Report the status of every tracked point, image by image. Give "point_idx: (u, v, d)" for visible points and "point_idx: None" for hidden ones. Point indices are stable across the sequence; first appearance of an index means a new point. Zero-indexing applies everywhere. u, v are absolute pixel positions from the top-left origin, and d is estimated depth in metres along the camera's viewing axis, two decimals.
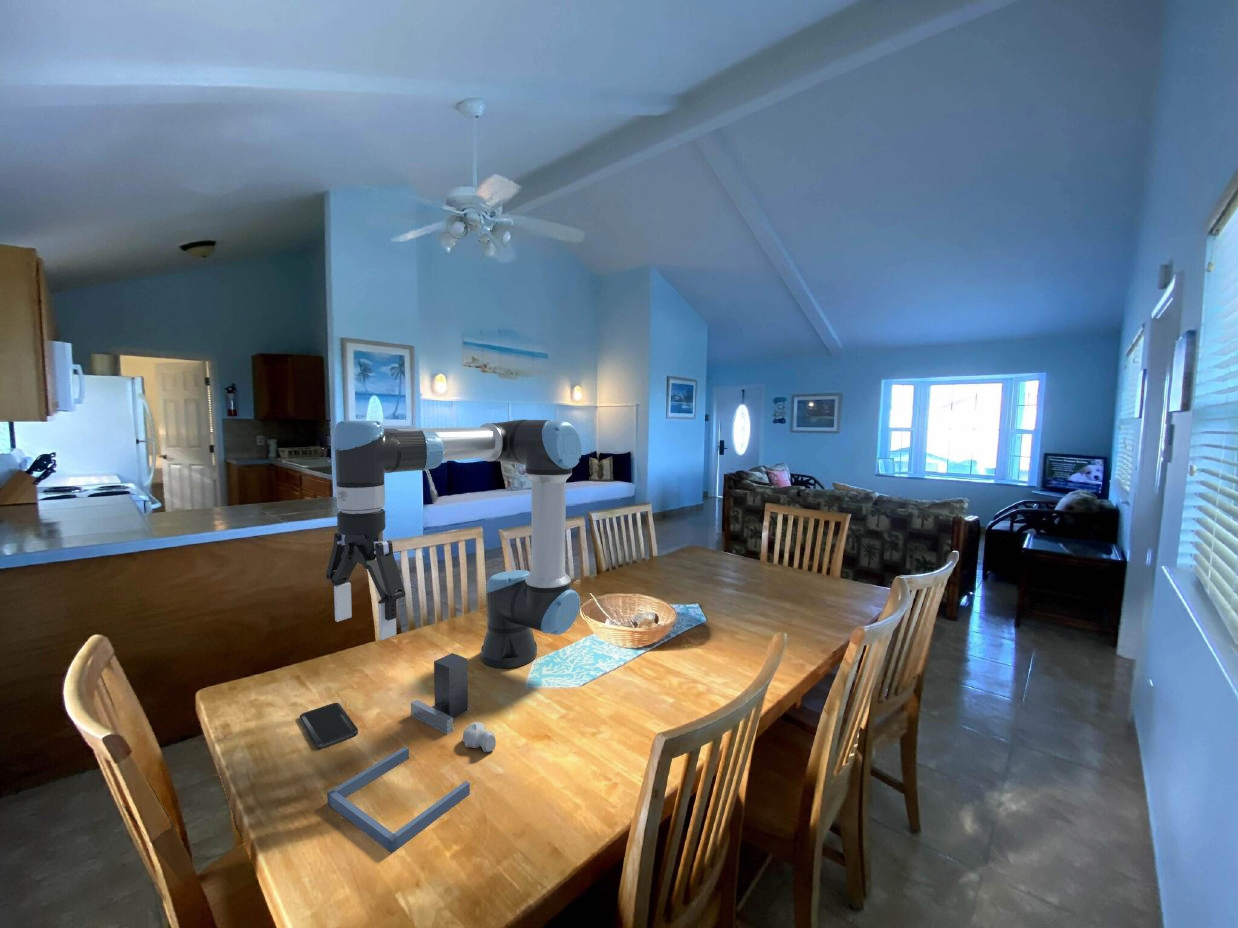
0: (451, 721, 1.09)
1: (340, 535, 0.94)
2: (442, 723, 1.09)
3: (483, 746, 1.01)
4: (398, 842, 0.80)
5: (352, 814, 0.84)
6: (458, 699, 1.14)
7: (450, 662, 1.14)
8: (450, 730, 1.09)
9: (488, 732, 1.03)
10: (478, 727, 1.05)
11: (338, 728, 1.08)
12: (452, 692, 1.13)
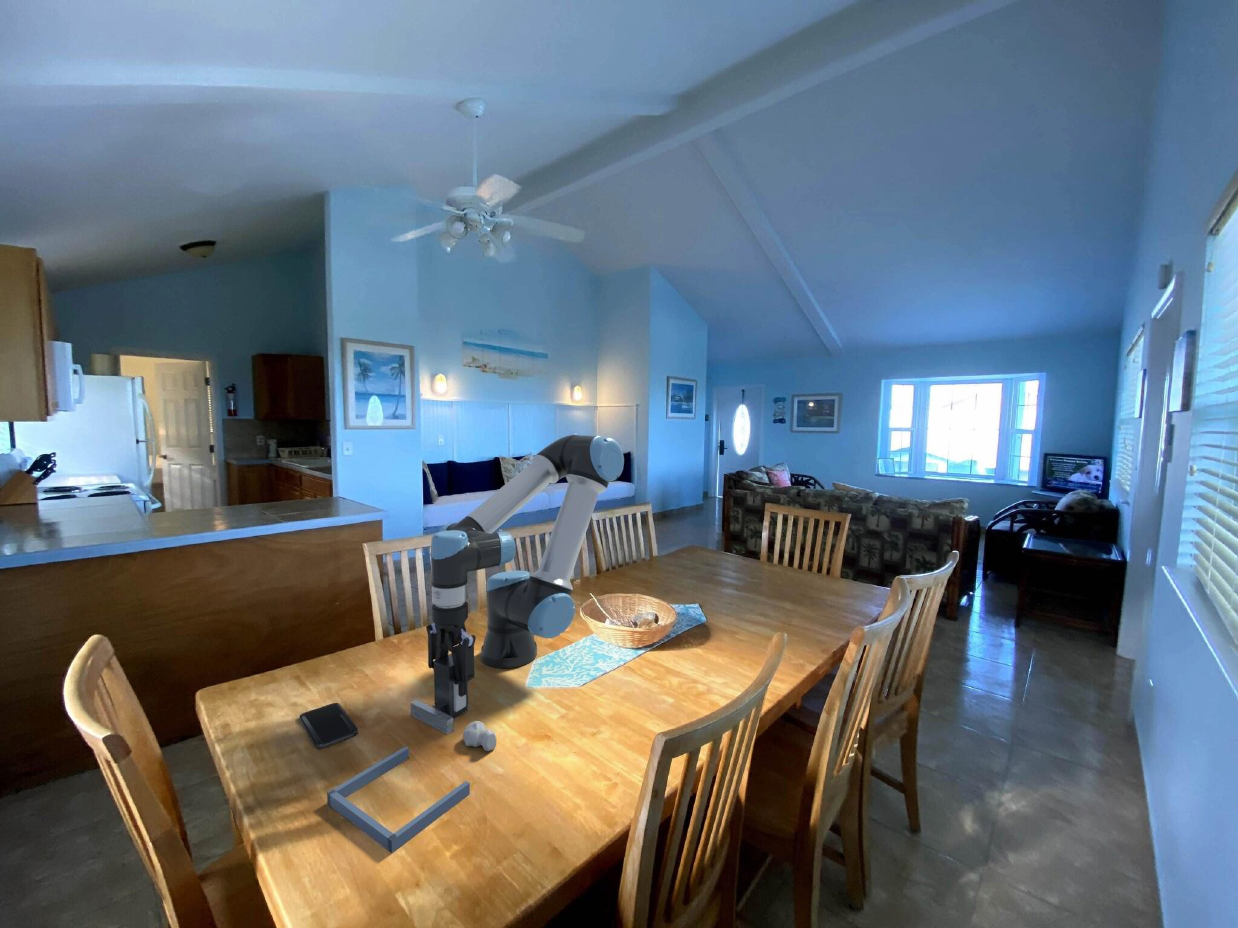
0: (451, 721, 1.09)
1: (431, 626, 1.17)
2: (442, 723, 1.09)
3: (484, 745, 1.02)
4: (398, 842, 0.80)
5: (352, 814, 0.84)
6: None
7: (450, 662, 1.14)
8: (450, 730, 1.09)
9: (489, 731, 1.03)
10: (478, 726, 1.05)
11: (339, 728, 1.08)
12: (452, 692, 1.13)
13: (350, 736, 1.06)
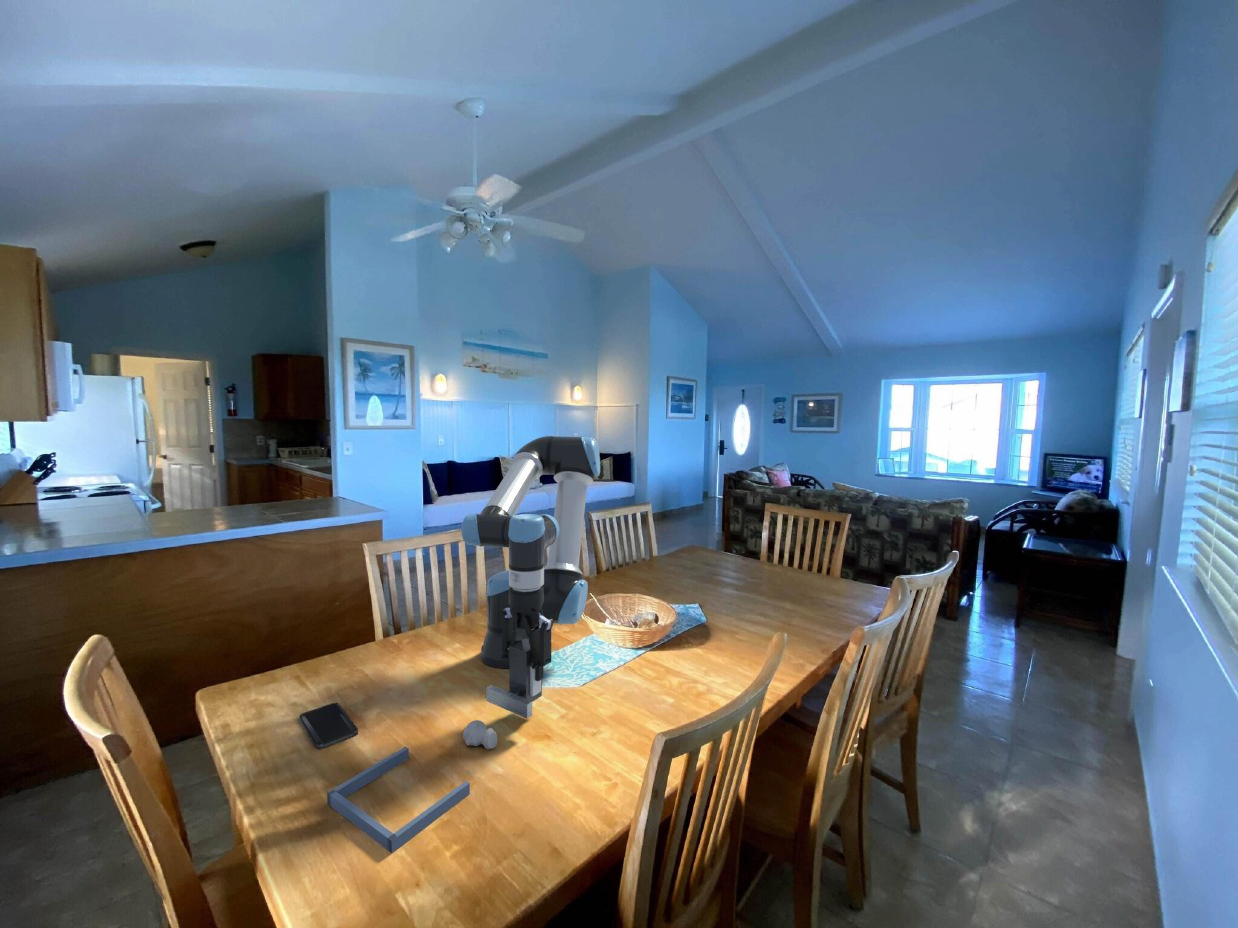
0: (530, 705, 1.08)
1: (505, 610, 1.17)
2: (521, 707, 1.08)
3: (485, 744, 1.02)
4: (398, 842, 0.80)
5: (352, 814, 0.84)
6: None
7: (526, 647, 1.13)
8: (529, 714, 1.08)
9: (490, 730, 1.03)
10: (478, 726, 1.06)
11: (339, 728, 1.08)
12: (528, 677, 1.12)
13: (350, 736, 1.06)
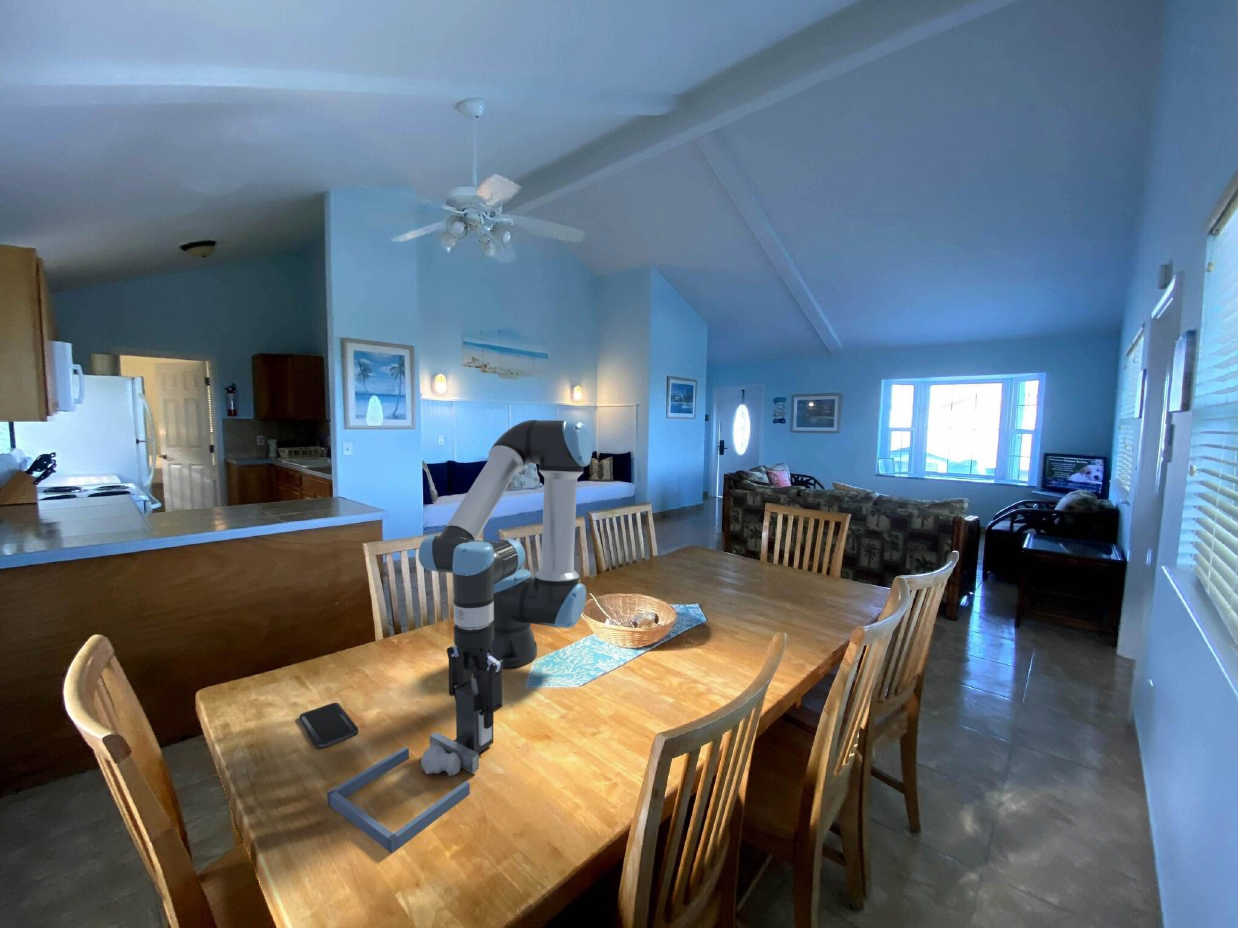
0: (477, 758, 0.96)
1: (452, 648, 1.05)
2: (466, 761, 0.96)
3: (449, 770, 0.94)
4: (398, 842, 0.80)
5: (352, 814, 0.84)
6: None
7: (474, 690, 1.01)
8: (475, 768, 0.96)
9: (452, 754, 0.96)
10: (438, 751, 0.97)
11: (339, 728, 1.08)
12: (476, 724, 1.00)
13: (350, 736, 1.06)
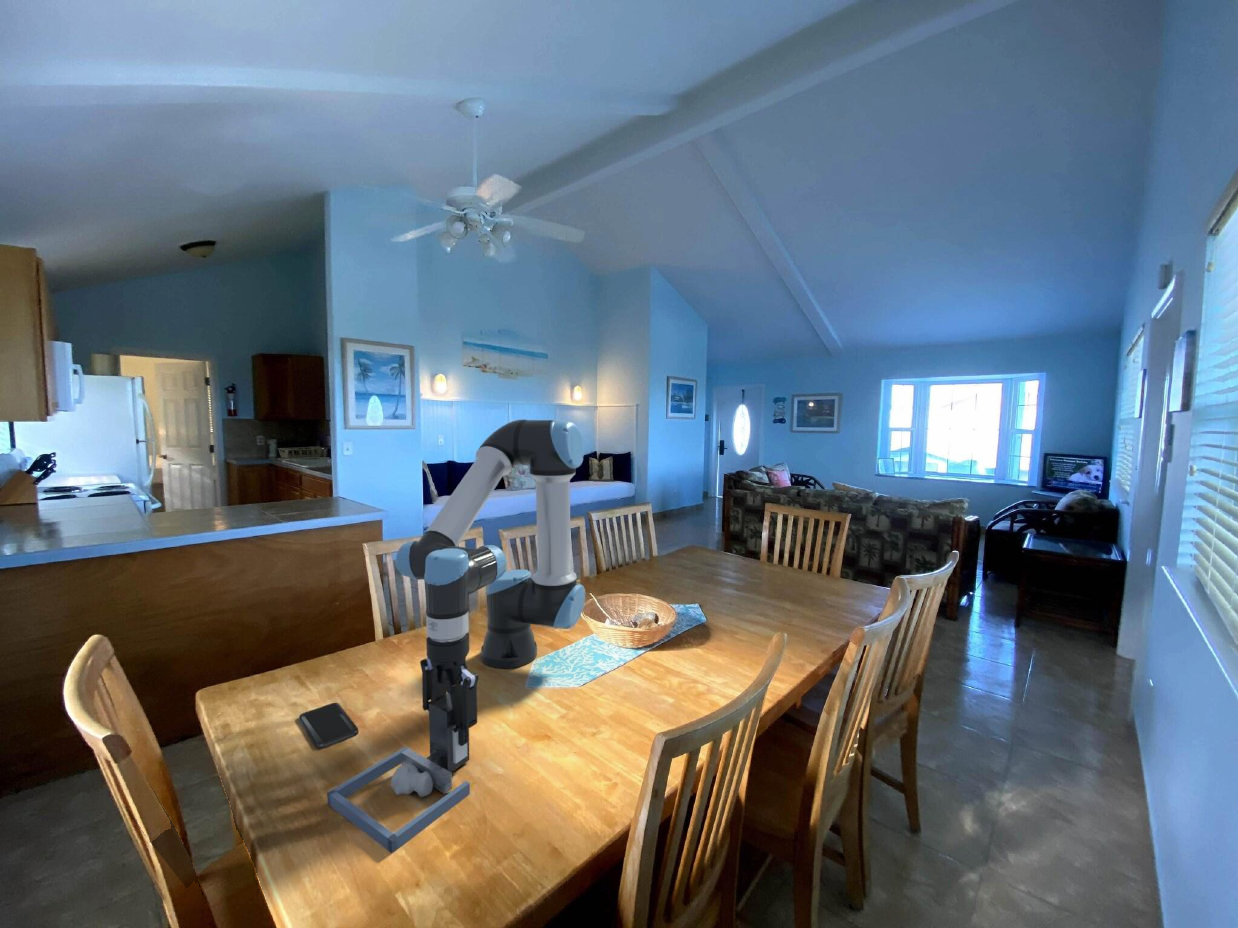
0: (449, 777, 0.91)
1: (425, 661, 0.99)
2: (438, 780, 0.91)
3: (419, 791, 0.89)
4: (398, 842, 0.80)
5: (352, 814, 0.84)
6: None
7: (448, 705, 0.96)
8: (448, 789, 0.91)
9: (424, 774, 0.90)
10: (409, 770, 0.92)
11: (339, 728, 1.08)
12: (450, 741, 0.95)
13: (351, 736, 1.06)
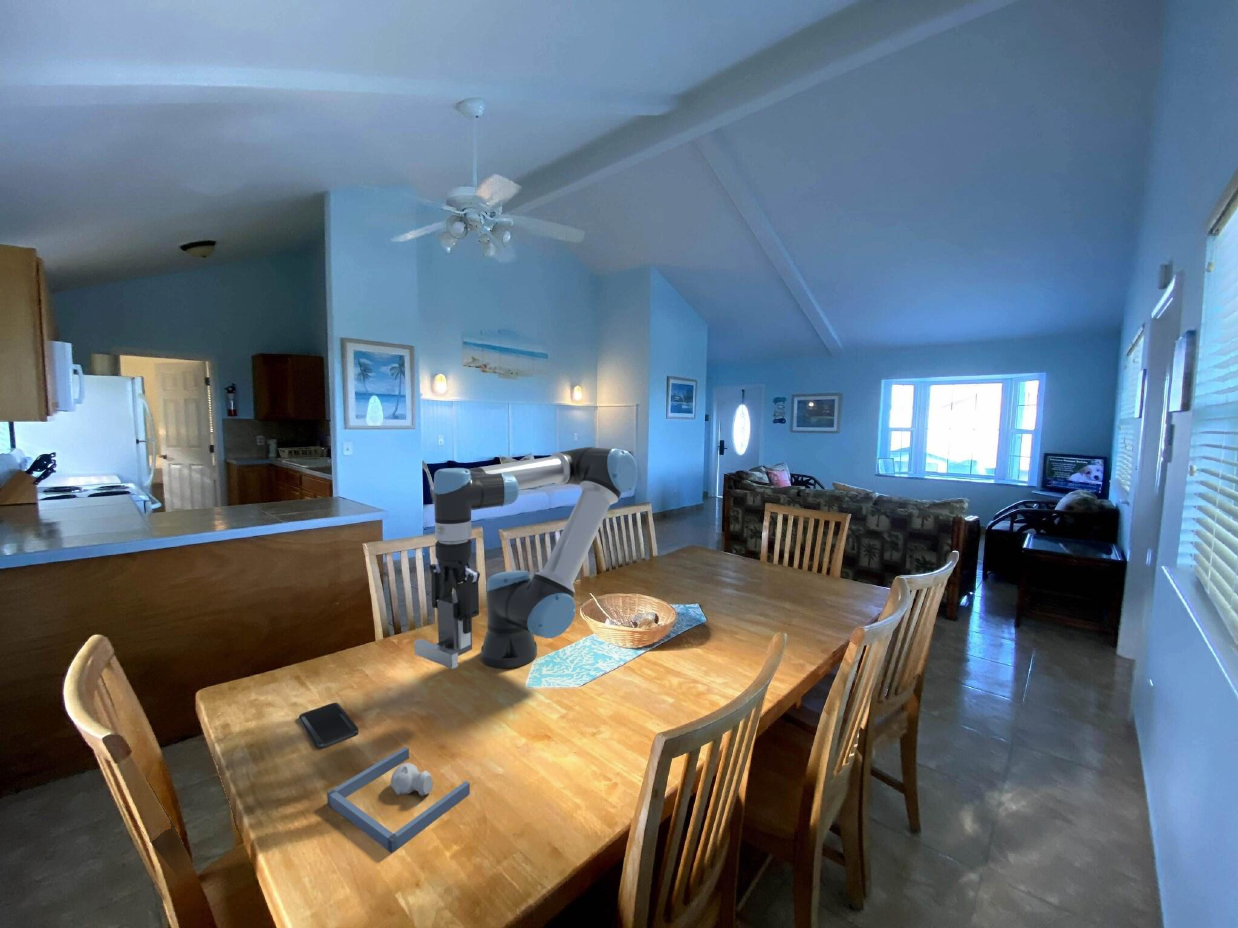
0: (456, 656, 1.08)
1: (434, 565, 1.16)
2: (447, 658, 1.08)
3: (420, 790, 0.89)
4: (398, 842, 0.80)
5: (352, 814, 0.84)
6: None
7: (454, 600, 1.13)
8: (454, 665, 1.08)
9: (424, 773, 0.91)
10: (409, 770, 0.92)
11: (339, 728, 1.08)
12: (456, 629, 1.12)
13: (351, 736, 1.06)
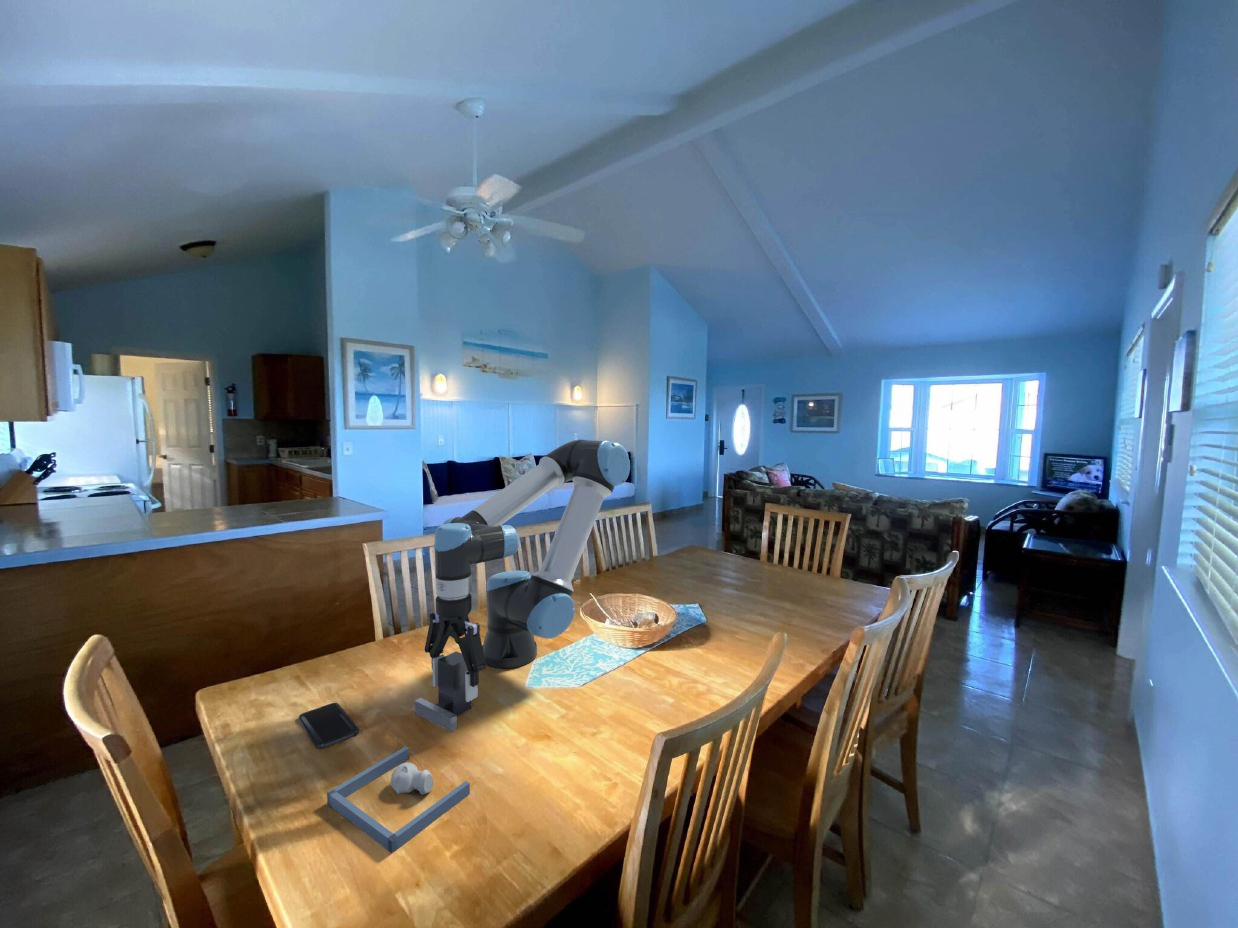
0: (455, 719, 1.10)
1: (434, 615, 1.18)
2: (446, 721, 1.09)
3: (421, 789, 0.90)
4: (398, 842, 0.80)
5: (352, 814, 0.84)
6: (461, 697, 1.15)
7: (453, 661, 1.15)
8: (453, 728, 1.09)
9: (425, 772, 0.91)
10: (409, 769, 0.93)
11: (339, 728, 1.08)
12: (455, 690, 1.14)
13: (351, 736, 1.07)
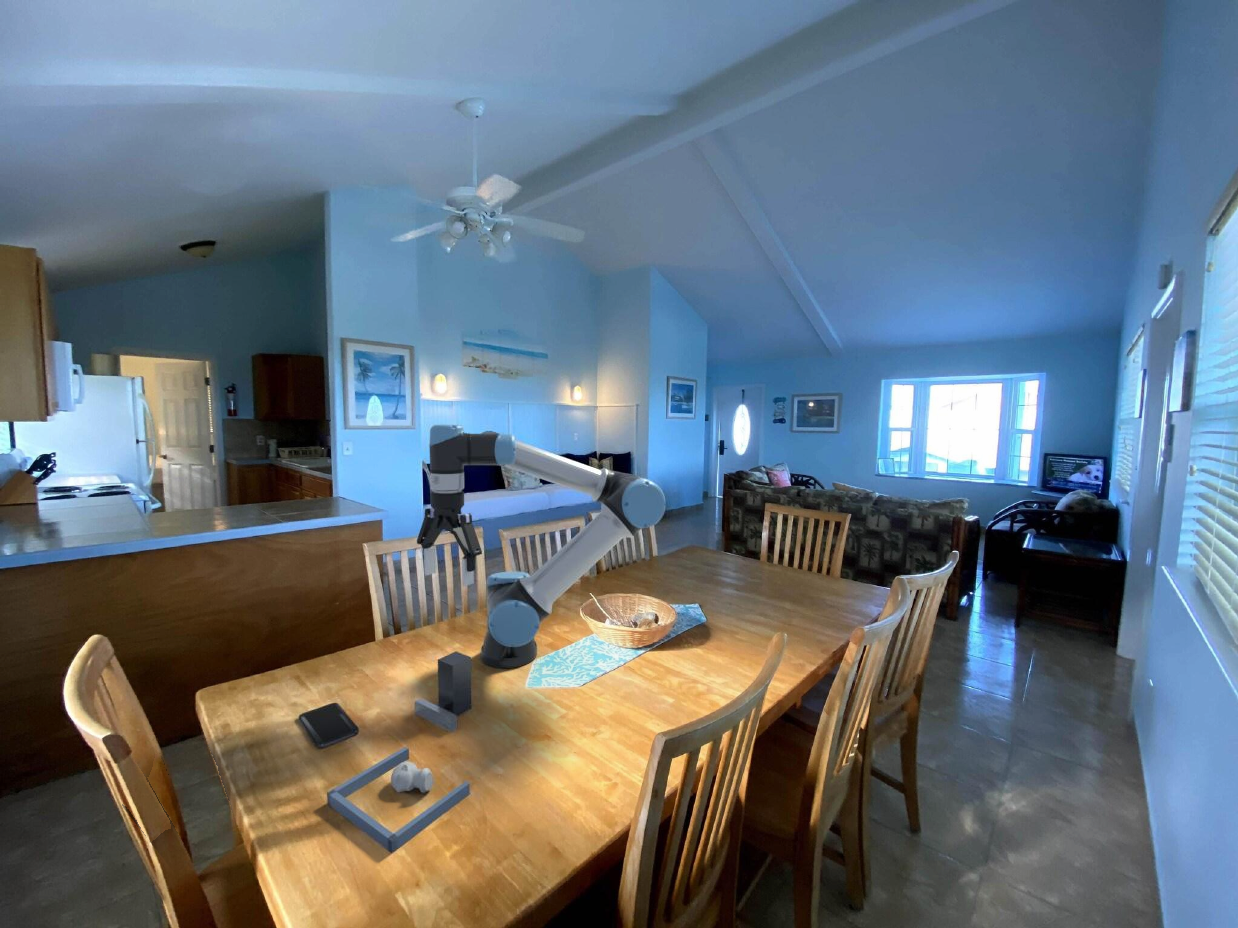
0: (455, 719, 1.10)
1: (429, 510, 1.26)
2: (446, 721, 1.09)
3: (421, 787, 0.90)
4: (398, 842, 0.80)
5: (352, 814, 0.84)
6: (461, 697, 1.15)
7: (453, 661, 1.15)
8: (453, 728, 1.09)
9: (425, 770, 0.91)
10: (409, 767, 0.93)
11: (339, 728, 1.08)
12: (455, 690, 1.14)
13: (351, 735, 1.07)
